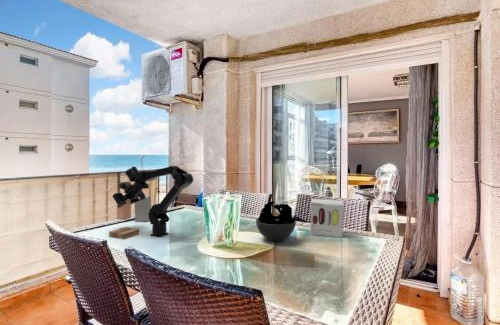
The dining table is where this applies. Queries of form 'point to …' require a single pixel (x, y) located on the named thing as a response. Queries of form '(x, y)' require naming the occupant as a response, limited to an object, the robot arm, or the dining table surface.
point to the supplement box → (327, 217)
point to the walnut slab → (124, 233)
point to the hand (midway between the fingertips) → (122, 206)
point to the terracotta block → (124, 211)
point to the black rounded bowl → (276, 222)
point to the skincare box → (142, 209)
